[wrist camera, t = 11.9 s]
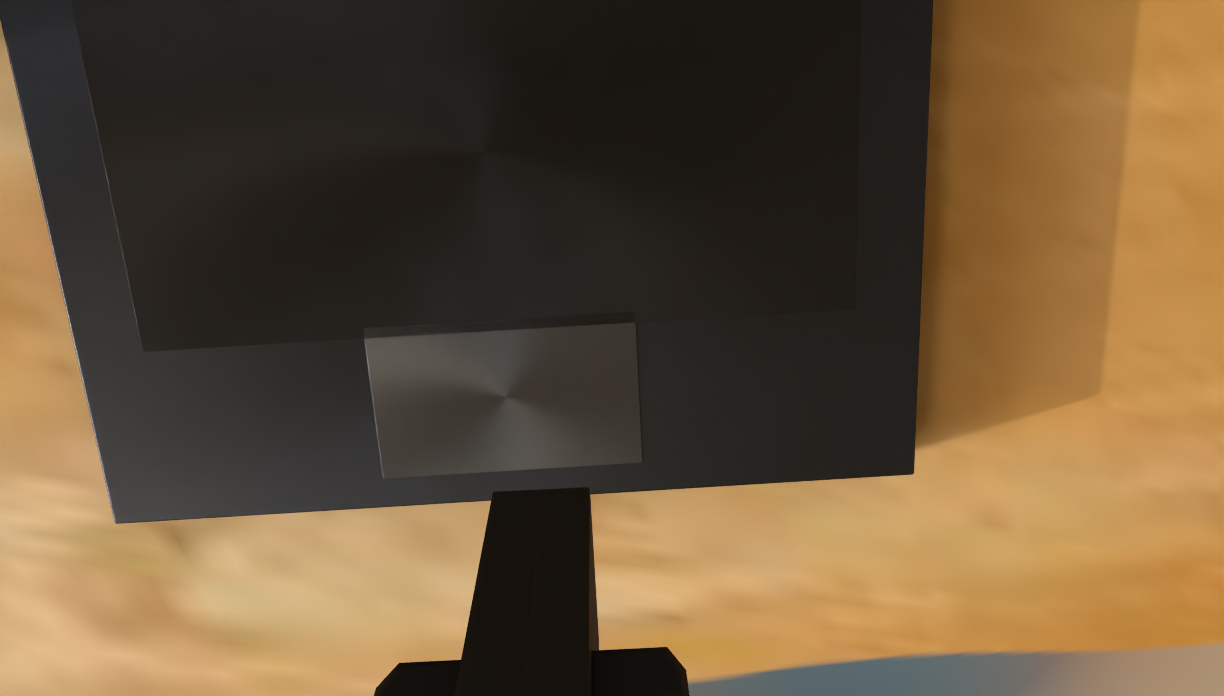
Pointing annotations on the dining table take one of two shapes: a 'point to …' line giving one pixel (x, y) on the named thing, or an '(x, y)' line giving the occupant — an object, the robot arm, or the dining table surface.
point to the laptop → (481, 242)
